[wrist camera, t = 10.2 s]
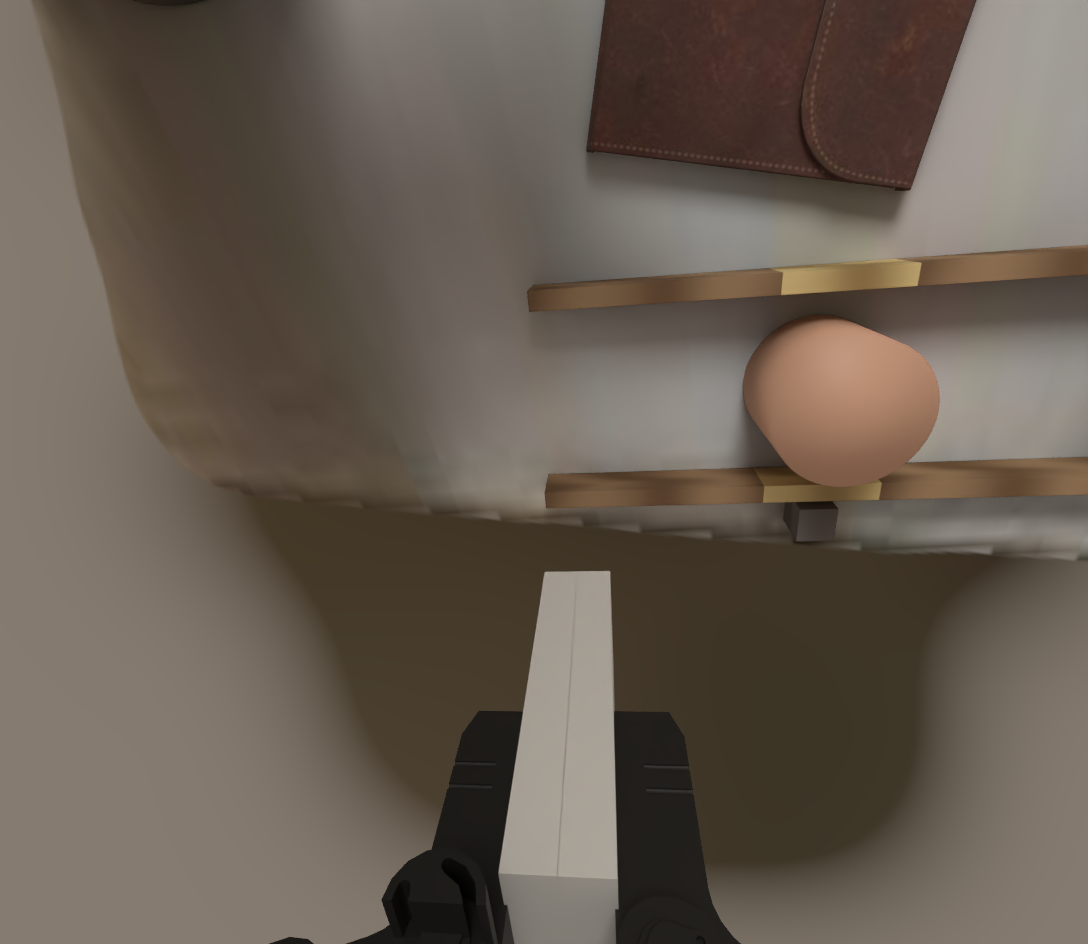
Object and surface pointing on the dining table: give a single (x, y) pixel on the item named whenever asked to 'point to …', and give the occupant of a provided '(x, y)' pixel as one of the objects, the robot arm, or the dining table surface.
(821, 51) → the notebook
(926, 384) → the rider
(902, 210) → the dining table surface
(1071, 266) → the track
